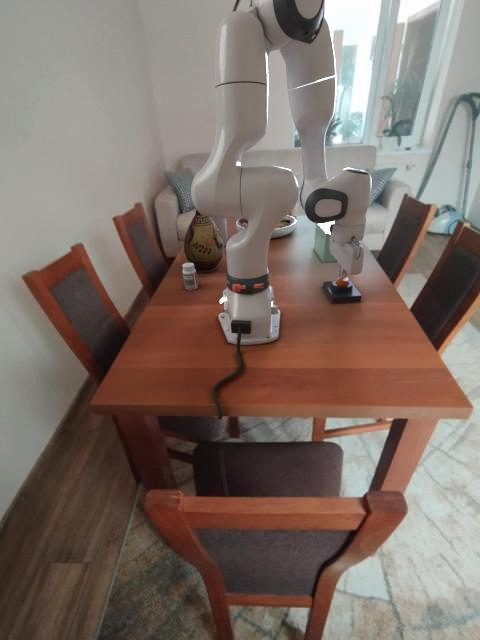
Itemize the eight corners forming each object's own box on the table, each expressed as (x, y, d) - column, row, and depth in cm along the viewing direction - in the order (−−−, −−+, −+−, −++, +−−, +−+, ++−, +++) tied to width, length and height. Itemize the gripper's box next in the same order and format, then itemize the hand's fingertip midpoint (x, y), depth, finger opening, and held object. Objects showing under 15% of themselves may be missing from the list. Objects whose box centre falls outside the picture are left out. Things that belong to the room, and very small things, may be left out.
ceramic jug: (225, 275, 125) (217, 186, 106) (185, 277, 125) (170, 189, 107) (226, 258, 138) (219, 177, 120) (190, 260, 139) (177, 180, 120)
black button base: (360, 301, 103) (362, 290, 101) (332, 304, 103) (333, 292, 101) (348, 285, 113) (350, 274, 110) (322, 287, 112) (323, 276, 110)
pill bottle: (192, 283, 120) (188, 261, 115) (201, 286, 118) (197, 263, 113) (182, 288, 117) (178, 265, 112) (191, 291, 115) (187, 268, 110)
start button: (349, 286, 104) (350, 281, 103) (338, 287, 104) (339, 281, 103) (346, 281, 107) (346, 276, 106) (335, 282, 107) (335, 277, 106)
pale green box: (351, 262, 129) (356, 232, 122) (324, 264, 129) (327, 234, 122) (338, 247, 143) (342, 220, 136) (313, 248, 143) (316, 221, 136)
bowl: (304, 226, 170) (305, 209, 165) (281, 243, 150) (282, 225, 145) (252, 221, 182) (252, 205, 177) (225, 237, 162) (224, 220, 157)
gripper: (372, 242, 88) (363, 290, 97) (347, 221, 104) (341, 264, 113) (350, 244, 88) (342, 292, 97) (327, 223, 104) (323, 265, 113)
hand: (341, 276), depth 105 cm, fingers closed
